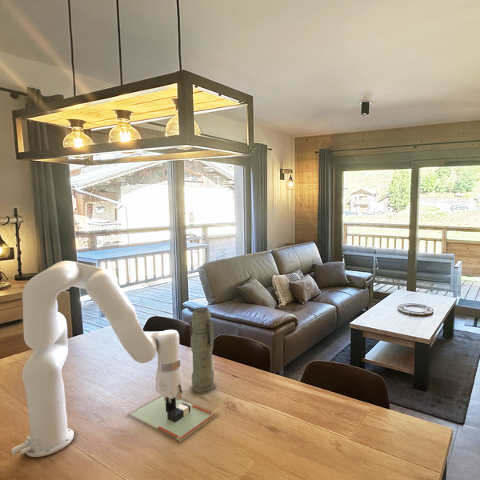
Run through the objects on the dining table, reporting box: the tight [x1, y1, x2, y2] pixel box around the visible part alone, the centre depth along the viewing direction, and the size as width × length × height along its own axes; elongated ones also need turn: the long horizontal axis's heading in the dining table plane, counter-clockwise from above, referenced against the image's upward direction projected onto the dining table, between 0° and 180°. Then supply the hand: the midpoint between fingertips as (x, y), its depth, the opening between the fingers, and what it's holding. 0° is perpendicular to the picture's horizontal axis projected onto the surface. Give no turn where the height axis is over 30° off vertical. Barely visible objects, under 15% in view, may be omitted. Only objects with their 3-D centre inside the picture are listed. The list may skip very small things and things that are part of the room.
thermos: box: [189, 306, 215, 394], centre depth 146 cm, size 9×12×35 cm
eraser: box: [167, 403, 190, 422], centre depth 128 cm, size 7×4×3 cm, turn 153°
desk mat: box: [130, 395, 217, 442], centre depth 129 cm, size 16×28×1 cm, turn 61°
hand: (171, 410), depth 129 cm, fingers closed
